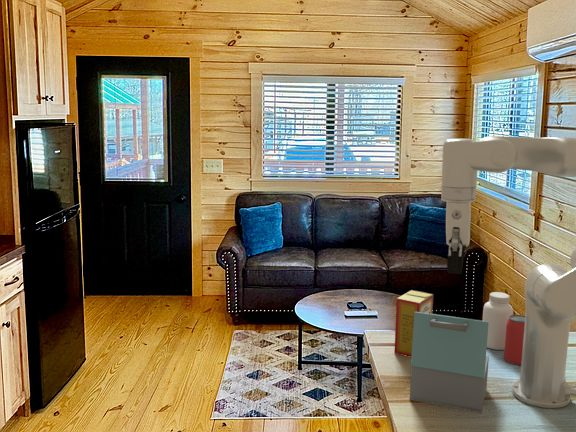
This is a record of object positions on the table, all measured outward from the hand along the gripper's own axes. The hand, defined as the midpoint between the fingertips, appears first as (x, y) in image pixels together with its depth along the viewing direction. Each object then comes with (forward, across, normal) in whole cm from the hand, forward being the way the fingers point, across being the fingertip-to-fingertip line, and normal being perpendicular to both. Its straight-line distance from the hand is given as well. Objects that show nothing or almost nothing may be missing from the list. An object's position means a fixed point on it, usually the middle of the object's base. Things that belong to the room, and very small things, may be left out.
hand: (455, 267), depth 139 cm
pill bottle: (+31, +33, -10) cm, 47 cm away
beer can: (+31, +24, -16) cm, 42 cm away
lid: (+16, -7, 0) cm, 17 cm away
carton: (+30, -2, 0) cm, 30 cm away
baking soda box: (+31, +22, +12) cm, 39 cm away
